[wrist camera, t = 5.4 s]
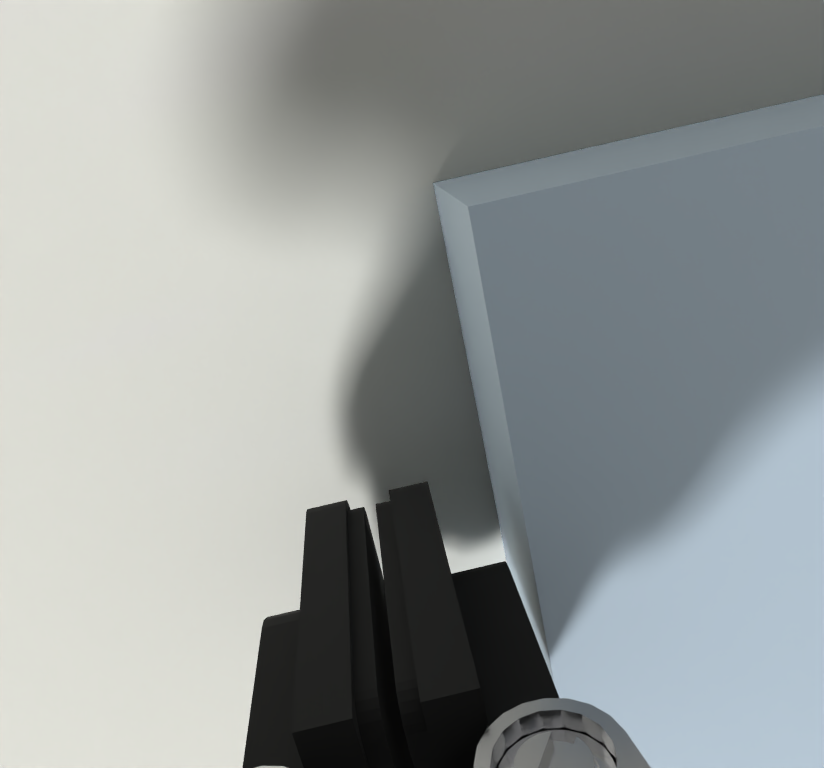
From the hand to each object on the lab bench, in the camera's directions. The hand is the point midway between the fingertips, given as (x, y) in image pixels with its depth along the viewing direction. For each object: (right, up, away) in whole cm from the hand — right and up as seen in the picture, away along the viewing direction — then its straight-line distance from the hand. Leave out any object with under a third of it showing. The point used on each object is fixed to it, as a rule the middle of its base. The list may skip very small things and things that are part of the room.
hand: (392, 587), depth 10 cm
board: (+6, +2, +2) cm, 6 cm away
